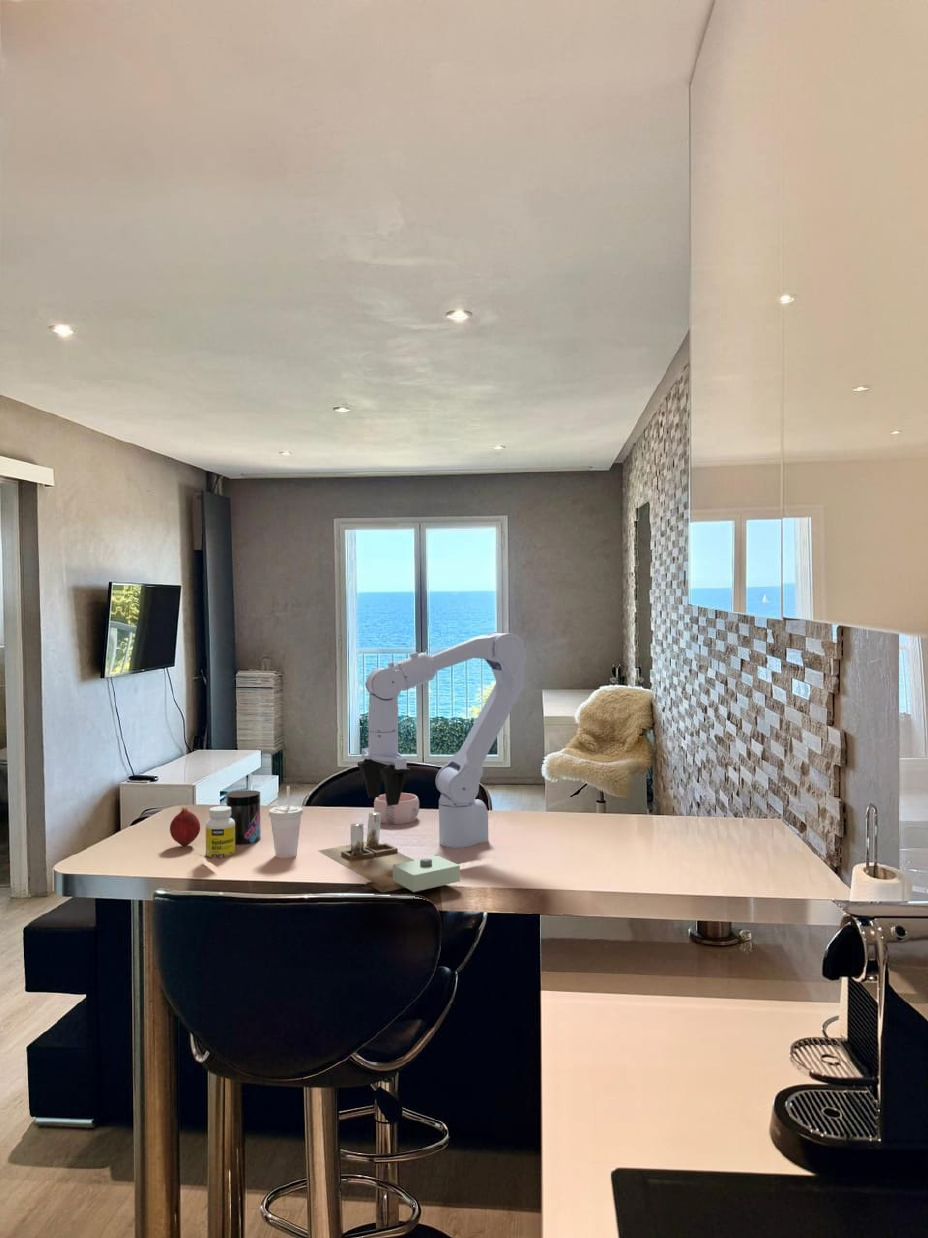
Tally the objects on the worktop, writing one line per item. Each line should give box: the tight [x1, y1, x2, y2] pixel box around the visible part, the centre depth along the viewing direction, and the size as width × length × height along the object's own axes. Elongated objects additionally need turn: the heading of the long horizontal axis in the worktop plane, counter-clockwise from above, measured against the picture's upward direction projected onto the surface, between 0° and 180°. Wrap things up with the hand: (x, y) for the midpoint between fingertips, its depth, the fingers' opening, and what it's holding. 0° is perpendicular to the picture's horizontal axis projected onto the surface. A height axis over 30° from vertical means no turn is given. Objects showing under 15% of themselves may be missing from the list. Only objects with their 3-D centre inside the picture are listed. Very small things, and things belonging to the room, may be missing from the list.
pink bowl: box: [373, 792, 420, 825], centre depth 187 cm, size 12×10×6 cm
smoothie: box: [268, 785, 304, 859], centre depth 159 cm, size 6×6×14 cm
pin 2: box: [365, 811, 381, 846], centre depth 166 cm, size 2×2×6 cm
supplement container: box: [225, 789, 262, 846], centre depth 170 cm, size 7×7×10 cm
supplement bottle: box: [205, 805, 236, 863], centre depth 160 cm, size 5×5×10 cm
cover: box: [393, 855, 461, 893], centre depth 142 cm, size 9×7×4 cm
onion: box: [169, 806, 201, 848], centre depth 169 cm, size 6×6×8 cm
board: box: [318, 841, 415, 893], centre depth 154 cm, size 12×26×2 cm, turn 34°
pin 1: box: [350, 822, 365, 856], centre depth 158 cm, size 2×2×6 cm
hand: (383, 801), depth 162 cm, fingers open, 7 cm apart
